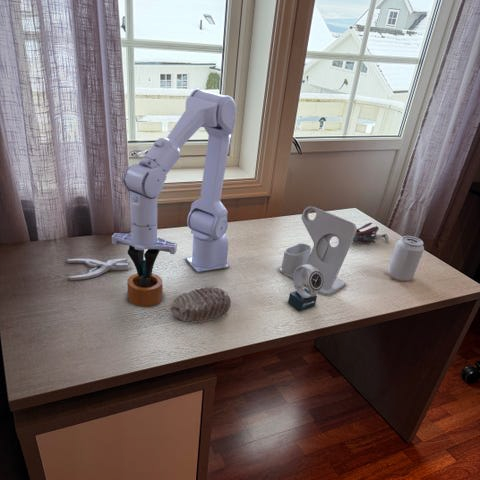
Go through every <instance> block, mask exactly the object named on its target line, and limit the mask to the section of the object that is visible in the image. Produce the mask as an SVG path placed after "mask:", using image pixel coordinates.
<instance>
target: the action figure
mask: <svg viewBox="0 0 480 480" xmlns="http://www.w3.org/2000/svg"><path fill="white" fill-rule="evenodd" d="M372 224H373V222H368V223H366V224H364V225H362V226H361V227H358V228H357V232H356V234H355V236H354V239H353V241H352V243H357V242H363V243H365V244H368V243H369V244H370V243H371V244H375V243H377V241H375V240H378V239H381V238H384V240H385V241H386V243H388V242H389V241H390V240H389V236H388V233H383V234H378V232H379V230H380V228H379V226H378V225H376V226H373V227H370V226H371V225H372ZM367 227H370V228H368V229H366V228H367ZM363 229H365V230H363ZM360 230H361V231H360Z"/></svg>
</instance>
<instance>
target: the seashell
mask: <svg viewBox="0 0 480 480" xmlns="http://www.w3.org/2000/svg"><path fill="white" fill-rule="evenodd" d="M231 304H232V300H231V297H230V295H229V293H228V292H227V291H225V290H224V289H223V288H221V287H218V286H212V287H211V286H208V287H207V286H205V287H200V288H195V289H192V290H191V291H187V292H182V293H180V294H179V295H178V296H176V297H175V298H174V299H173V301H172V303H171V306H170V311H171V314H172V315H173V317H174V318H175V319H177V320H179V321H182V322H188V323H191V322H198V323H199V322H208V321H213V320H217V319H219V318H221V317H223V316H226V314H227V313H228V312H229V310H230V307H231Z"/></svg>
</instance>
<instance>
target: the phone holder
mask: <svg viewBox="0 0 480 480" xmlns="http://www.w3.org/2000/svg"><path fill="white" fill-rule="evenodd" d="M311 211H314V212H315V217H314V218H313V219H310V218H309V213H311ZM301 221H302V223H303V225H304V227H305V228H306V231H307V232H308V234H309V236H310V238H311V240H312V242H313V247H311V245H309V244H307V243H297V244H294V245H293V246H290V247H288V248H286V249H285V250H284V251H283V258H282V263H281V267H280V268H279V273H281V274H283V275H285V276H287V277H289V278H290V279H293V275H294V271H295V269H296V268H297V267H299V266H302V265H305V264H310V265H312V266H314V267H315V268H317V270H318V271H319V272H320V273H321V274H322V276H323V278H324V279H323V286H322V288H321V290H320V291H319V293H318V294H321V295H323V296H330V295H331V294H334V293H335V292H336V291H338V290H341V288H343V287H344V286H345V281H344V280H342V279H340V278H338V275H339V273H340V271H341V269H342V265H343V263H344V261H345V259H346V257H347V255H348V252H349V250H350V248H351V245H352V243H353V239H354V236H355V234H356V232H357V229H358V228H357V225H356V224H355V223H354V222H352V221H350V220H347V219H346V218H345V219H344V218H342V217H340V216H338V215H335V214H332V213H330V212H328V211H326V210H324V209H323V210H322V209H320V208H317V207H315V206H312V205H310V206H307V207H306V208H304V210H303V211H302V214H301ZM332 238H337V239H338V244H337V245H336V246H332V245H331V243H330V242H331V240H332ZM306 271H307V270H306V269H305V268H302V269H301V275H302V283H303V286H306V287H307V285H306V277H307V274H306Z"/></svg>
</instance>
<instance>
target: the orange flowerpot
mask: <svg viewBox="0 0 480 480" xmlns="http://www.w3.org/2000/svg"><path fill="white" fill-rule="evenodd" d="M150 277H151V287H148V288H143V287H140V281H139V276H138V273H137V272H136V273H134V274H132V275H130V276H129V277H128V278H127V281H126V282H127V283H126V284H127V285H126V286H127V299H128V301H129V302H130V303H131V304H132V305H134V306H138V307H152V306H156V305H158V304H159V303H161V301H162V300H163V287H164V286H163V278H161V276H159V275H158V274H155V273H153V272H152V275H151V276H150Z"/></svg>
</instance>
